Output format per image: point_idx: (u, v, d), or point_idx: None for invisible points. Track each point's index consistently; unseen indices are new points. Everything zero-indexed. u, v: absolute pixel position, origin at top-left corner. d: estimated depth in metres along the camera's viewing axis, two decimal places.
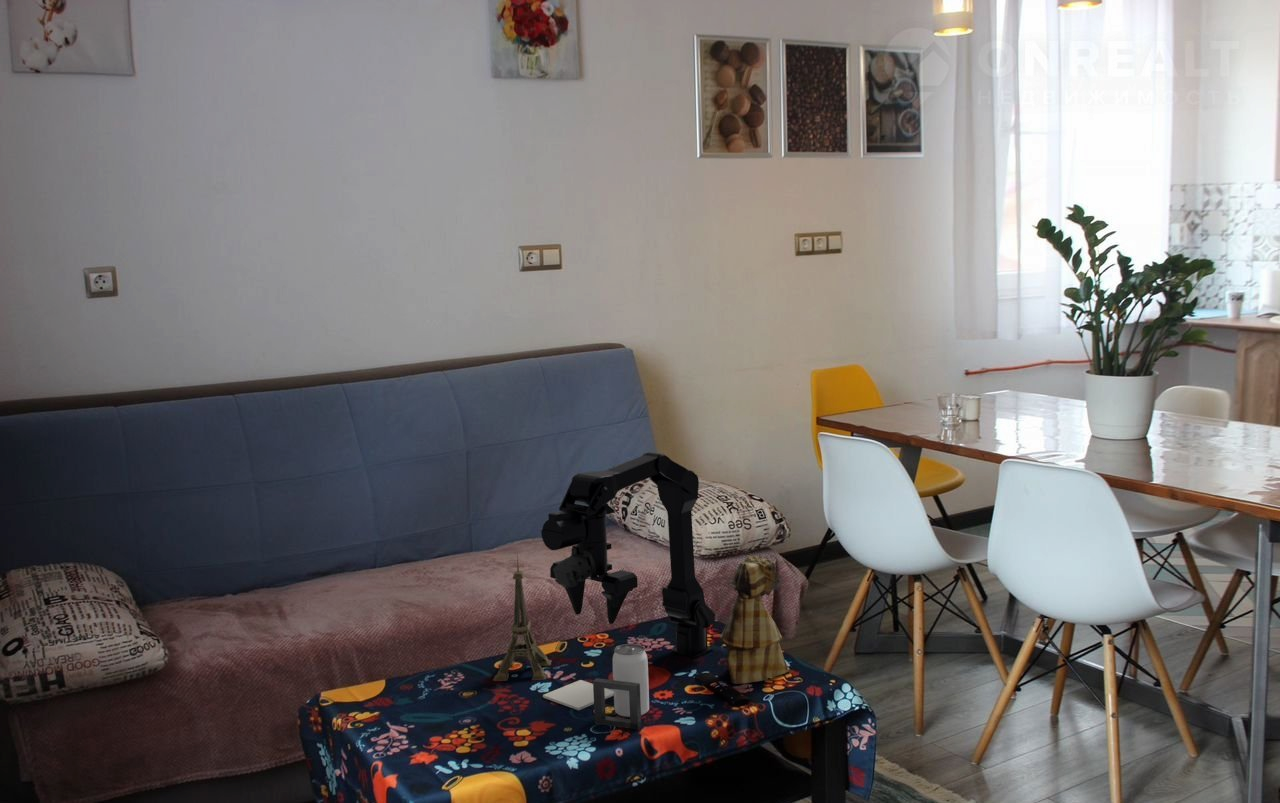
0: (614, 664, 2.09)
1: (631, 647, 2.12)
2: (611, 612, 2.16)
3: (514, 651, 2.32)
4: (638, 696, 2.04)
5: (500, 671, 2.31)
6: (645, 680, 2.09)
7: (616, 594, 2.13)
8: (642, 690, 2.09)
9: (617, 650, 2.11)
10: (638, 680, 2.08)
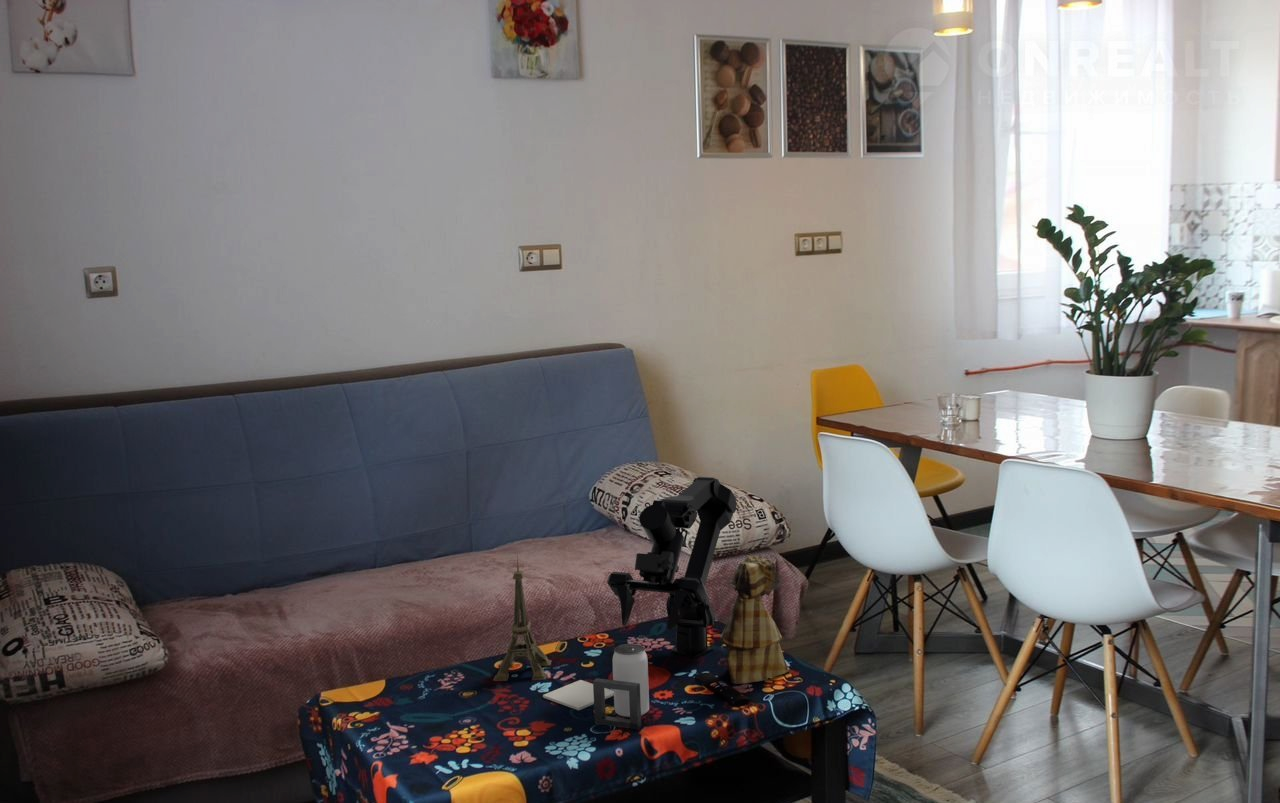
0: (614, 664, 2.09)
1: (631, 647, 2.12)
2: (674, 616, 2.17)
3: (514, 651, 2.32)
4: (638, 696, 2.04)
5: (500, 671, 2.31)
6: (645, 680, 2.10)
7: (690, 594, 2.17)
8: (642, 690, 2.09)
9: (617, 650, 2.11)
10: (638, 680, 2.08)
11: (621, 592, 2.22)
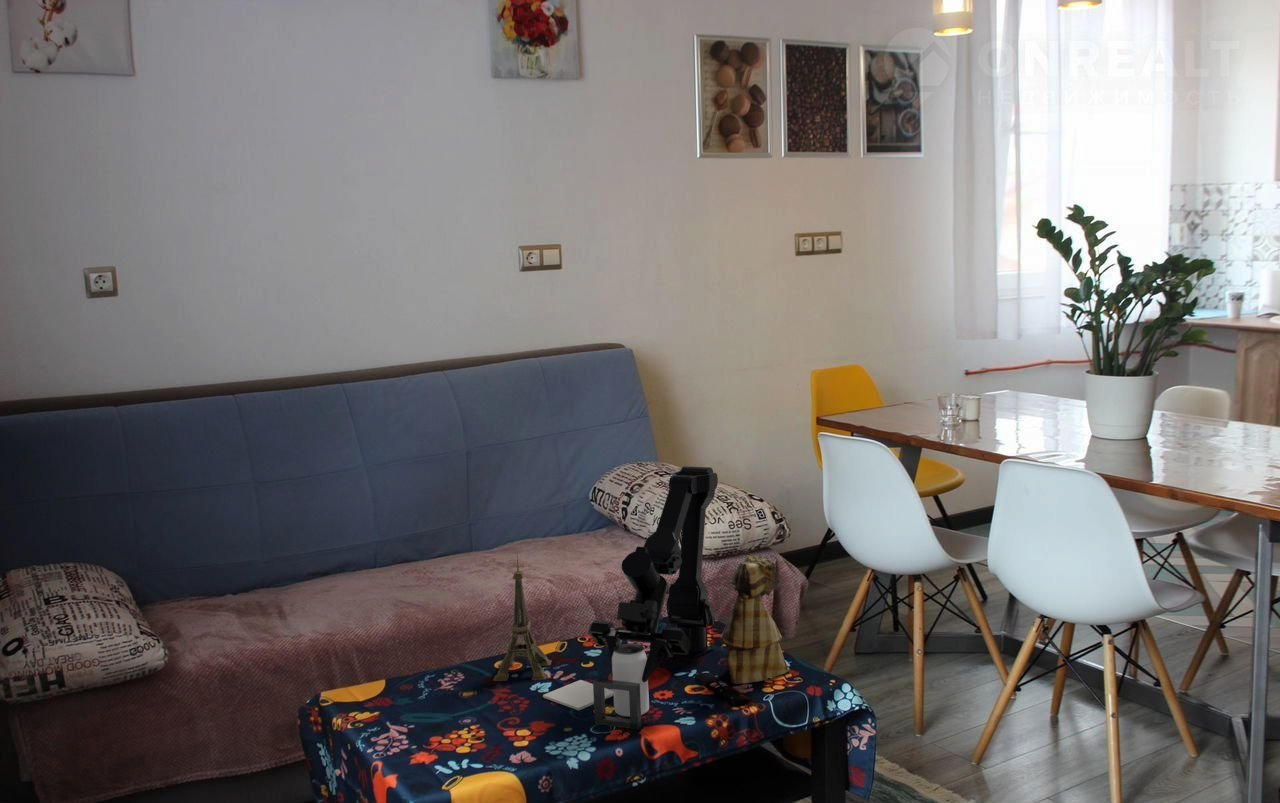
0: (613, 664, 2.09)
1: (630, 647, 2.12)
2: (650, 667, 2.09)
3: (514, 651, 2.32)
4: (638, 696, 2.04)
5: (500, 671, 2.31)
6: None
7: (666, 644, 2.10)
8: (642, 690, 2.09)
9: (616, 650, 2.11)
10: (638, 679, 2.08)
11: (610, 643, 2.13)
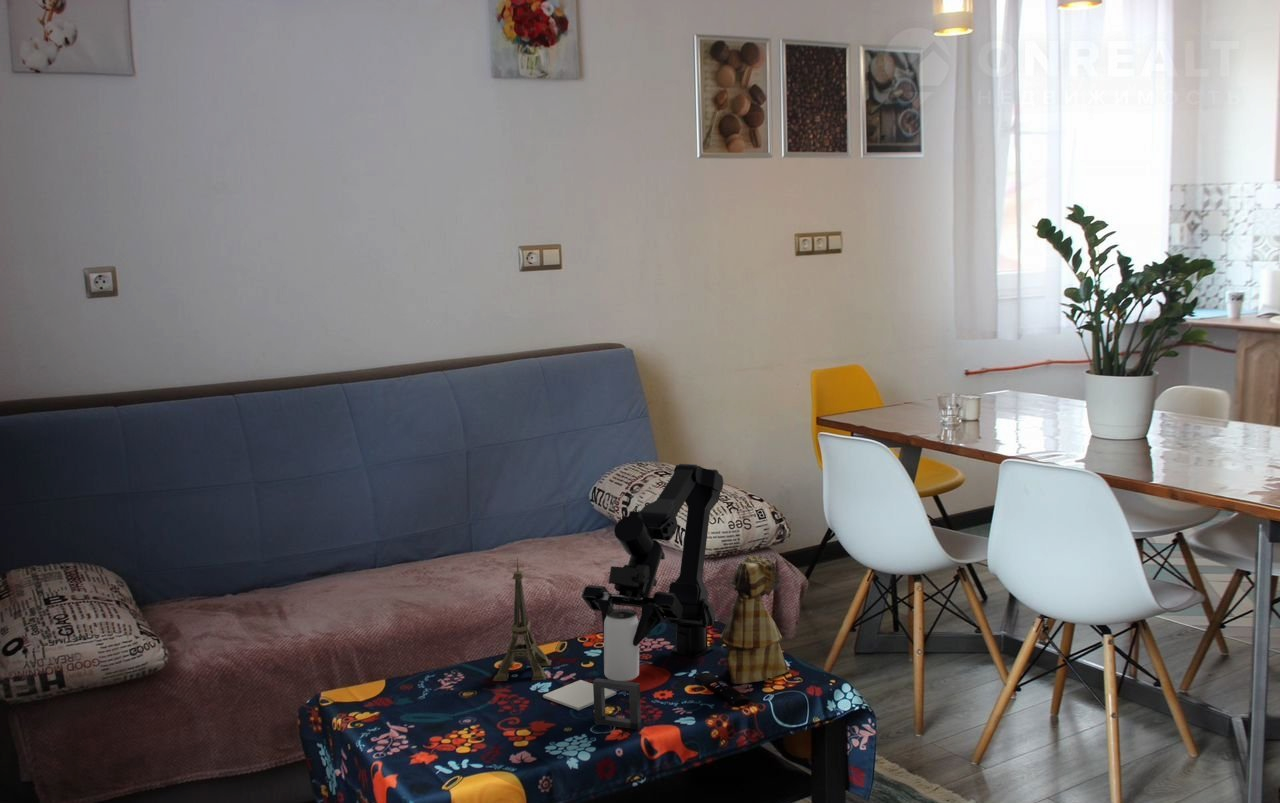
0: (605, 628, 2.10)
1: (623, 612, 2.12)
2: (641, 631, 2.09)
3: (514, 651, 2.32)
4: (638, 696, 2.04)
5: (500, 671, 2.31)
6: None
7: (658, 609, 2.10)
8: (632, 655, 2.09)
9: (609, 614, 2.11)
10: (628, 645, 2.08)
11: (603, 607, 2.13)
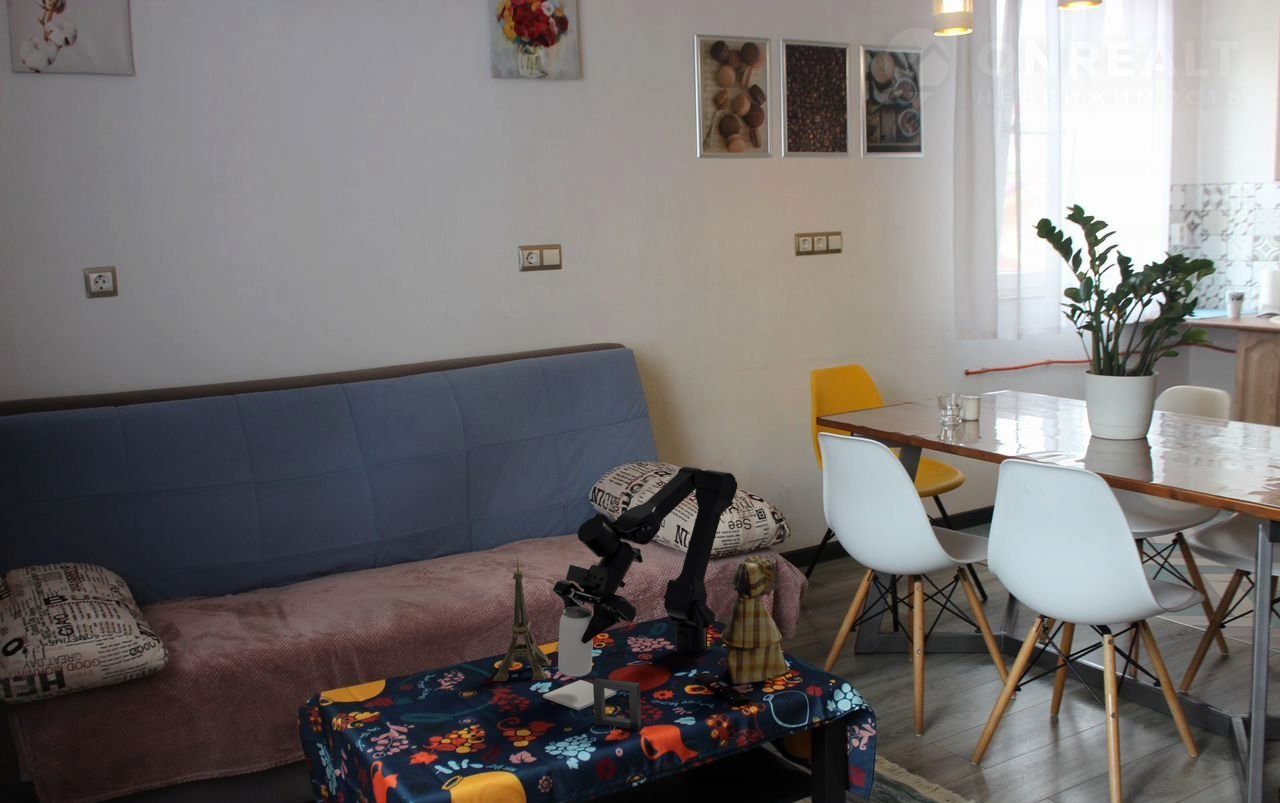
0: None
1: (582, 611, 2.20)
2: (590, 629, 2.16)
3: (514, 651, 2.32)
4: (638, 696, 2.04)
5: (500, 671, 2.31)
6: (584, 645, 2.17)
7: (607, 610, 2.15)
8: (579, 654, 2.17)
9: (567, 610, 2.19)
10: (576, 643, 2.16)
11: (566, 603, 2.22)
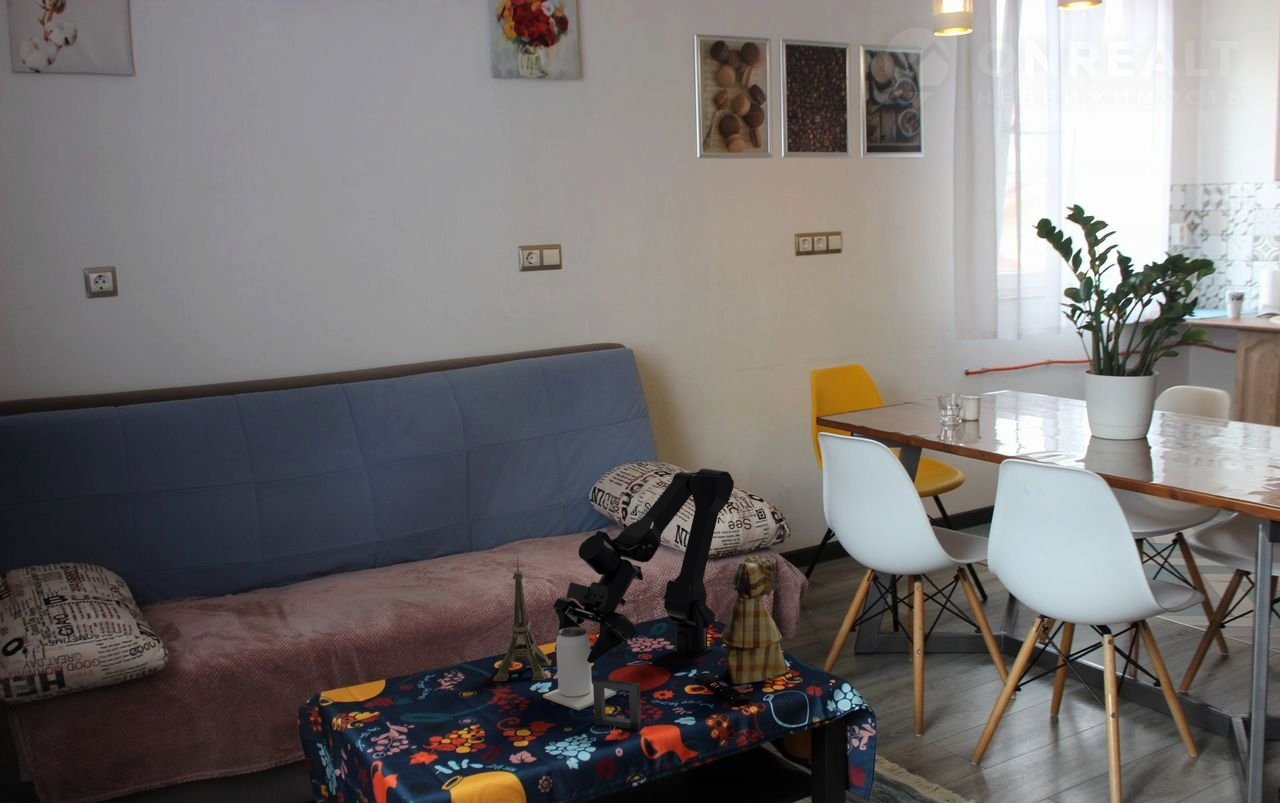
0: (556, 644, 2.20)
1: (578, 630, 2.21)
2: (596, 649, 2.15)
3: (514, 651, 2.32)
4: (638, 696, 2.04)
5: (500, 671, 2.31)
6: (581, 663, 2.18)
7: (613, 630, 2.14)
8: (578, 673, 2.18)
9: (563, 631, 2.21)
10: (573, 662, 2.17)
11: (561, 618, 2.24)
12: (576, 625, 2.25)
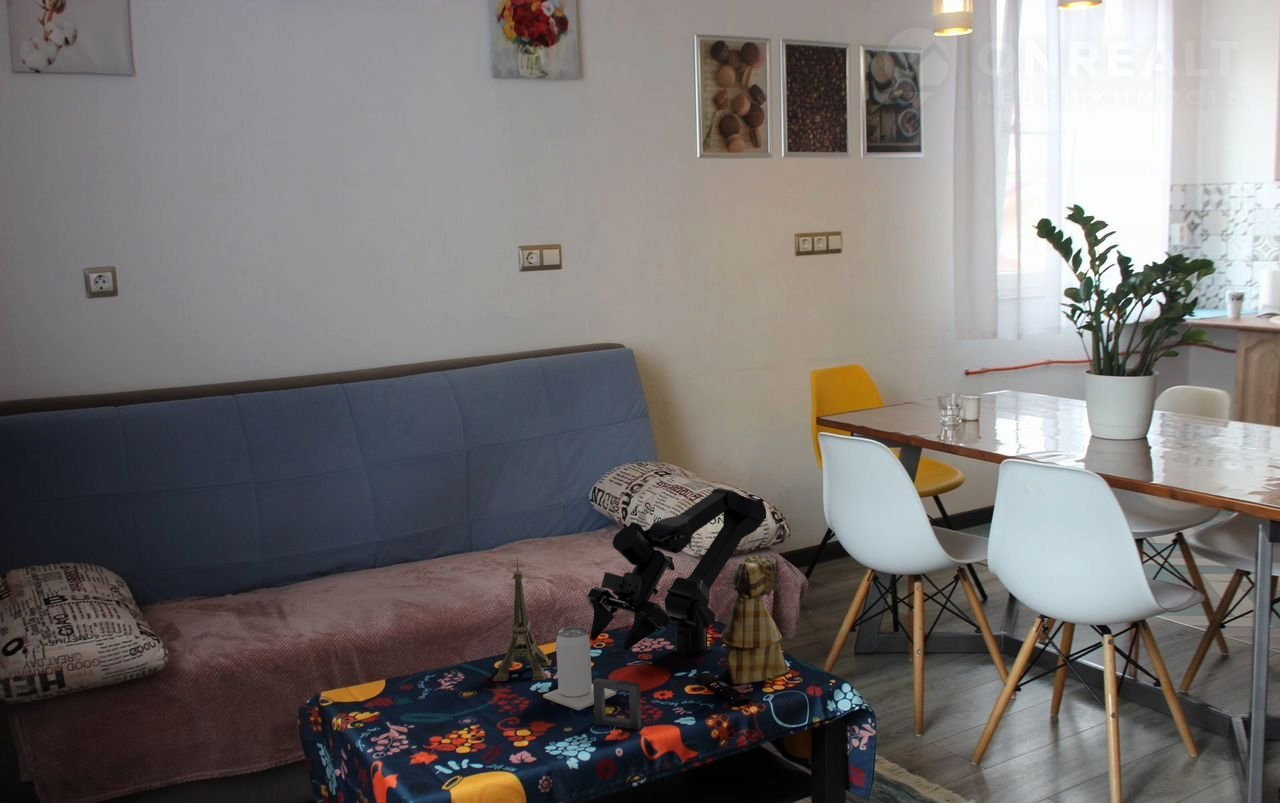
0: (556, 644, 2.20)
1: (578, 630, 2.21)
2: (630, 637, 2.21)
3: (514, 651, 2.32)
4: (638, 696, 2.04)
5: (500, 671, 2.31)
6: (581, 664, 2.18)
7: (647, 618, 2.21)
8: (578, 673, 2.18)
9: (563, 631, 2.21)
10: (573, 662, 2.17)
11: (595, 608, 2.30)
12: (610, 614, 2.32)
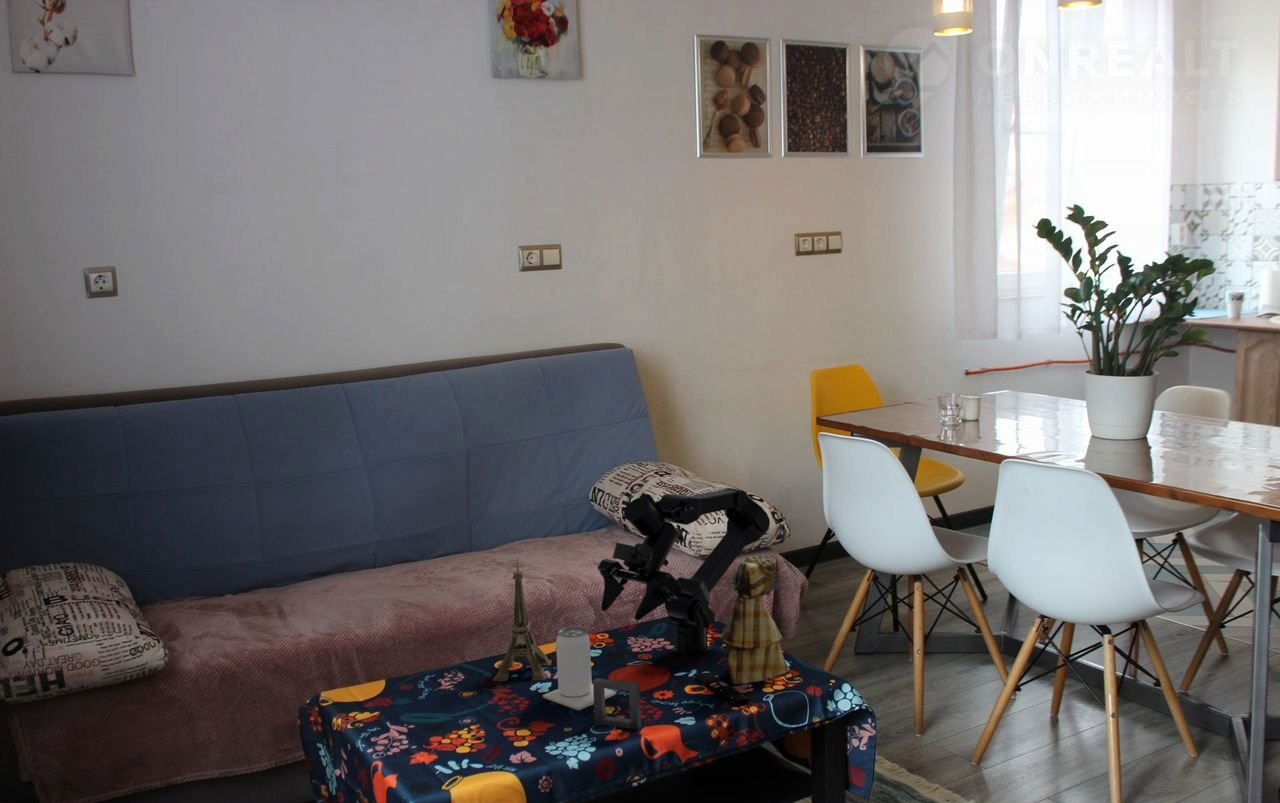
0: (556, 644, 2.20)
1: (578, 630, 2.21)
2: (643, 606, 2.22)
3: (514, 651, 2.32)
4: (638, 696, 2.04)
5: (500, 671, 2.31)
6: (581, 664, 2.18)
7: (660, 587, 2.22)
8: (578, 673, 2.18)
9: (563, 631, 2.21)
10: (573, 662, 2.17)
11: (606, 579, 2.31)
12: (620, 586, 2.33)
